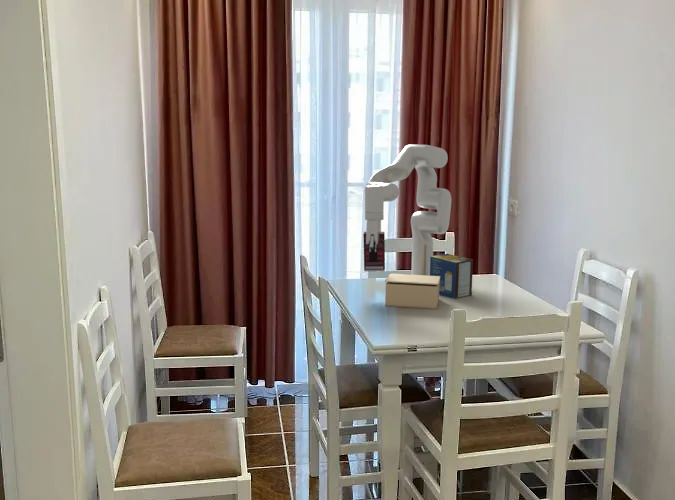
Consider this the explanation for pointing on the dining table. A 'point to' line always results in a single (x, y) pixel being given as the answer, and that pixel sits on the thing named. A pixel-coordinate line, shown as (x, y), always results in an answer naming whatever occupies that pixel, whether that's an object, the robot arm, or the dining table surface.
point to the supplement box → (380, 262)
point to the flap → (413, 279)
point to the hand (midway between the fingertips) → (374, 259)
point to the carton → (412, 295)
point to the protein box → (452, 274)
